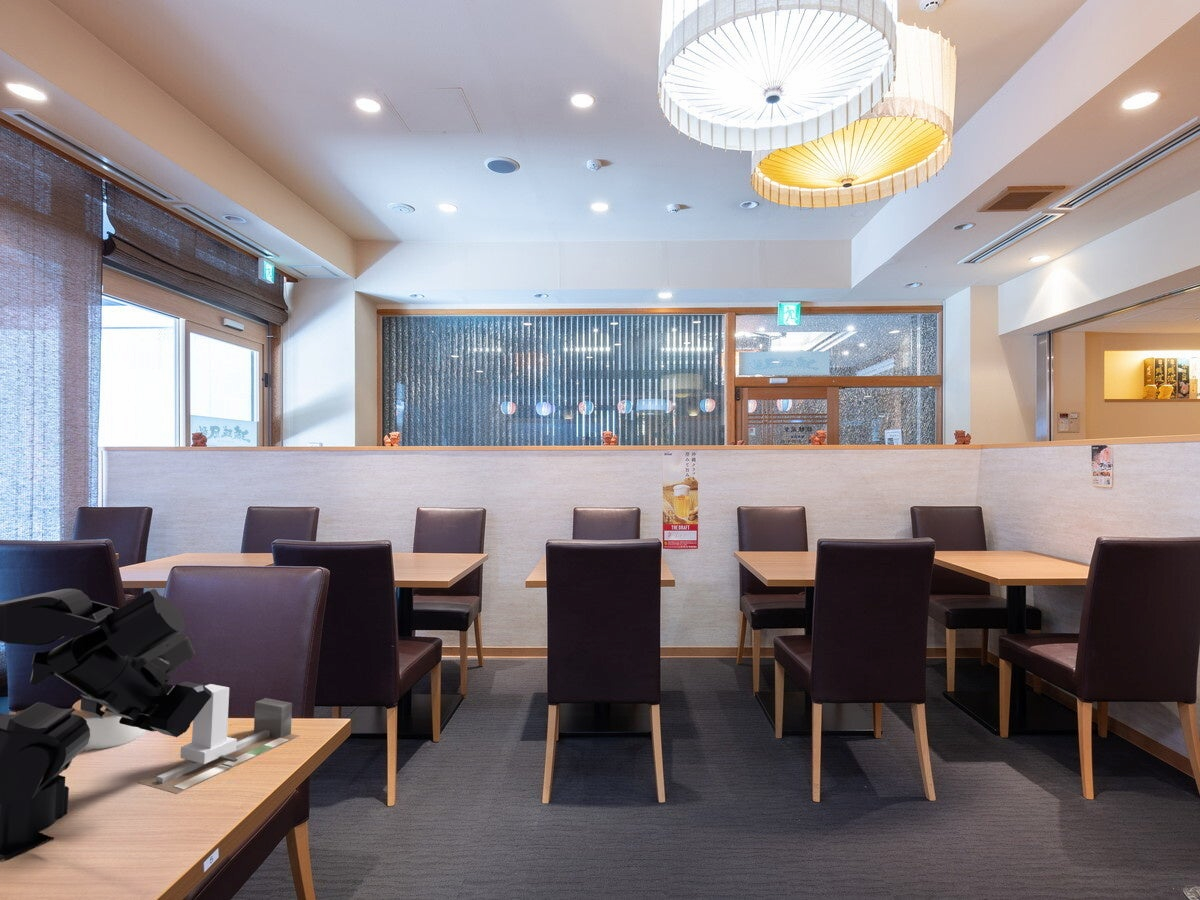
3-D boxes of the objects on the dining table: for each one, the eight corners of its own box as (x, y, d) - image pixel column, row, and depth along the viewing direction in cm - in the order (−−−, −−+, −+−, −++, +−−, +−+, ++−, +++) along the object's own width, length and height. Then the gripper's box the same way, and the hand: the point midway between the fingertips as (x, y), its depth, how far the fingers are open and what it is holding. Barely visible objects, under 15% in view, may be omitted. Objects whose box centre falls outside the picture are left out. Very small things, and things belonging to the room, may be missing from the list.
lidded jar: (141, 756, 94) (144, 695, 94) (55, 767, 90) (59, 703, 90) (162, 730, 104) (165, 675, 104) (86, 738, 100) (89, 681, 100)
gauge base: (176, 805, 80) (178, 755, 80) (136, 793, 83) (139, 745, 83) (299, 745, 98) (301, 704, 99) (263, 737, 101) (265, 698, 102)
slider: (219, 769, 85) (222, 698, 85) (180, 759, 88) (184, 691, 88) (251, 754, 89) (254, 688, 90) (213, 745, 92) (216, 681, 93)
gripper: (201, 625, 79) (270, 685, 88) (111, 612, 85) (184, 669, 95) (132, 706, 71) (216, 762, 80) (39, 685, 78) (126, 739, 87)
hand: (186, 728), depth 86 cm, fingers closed
